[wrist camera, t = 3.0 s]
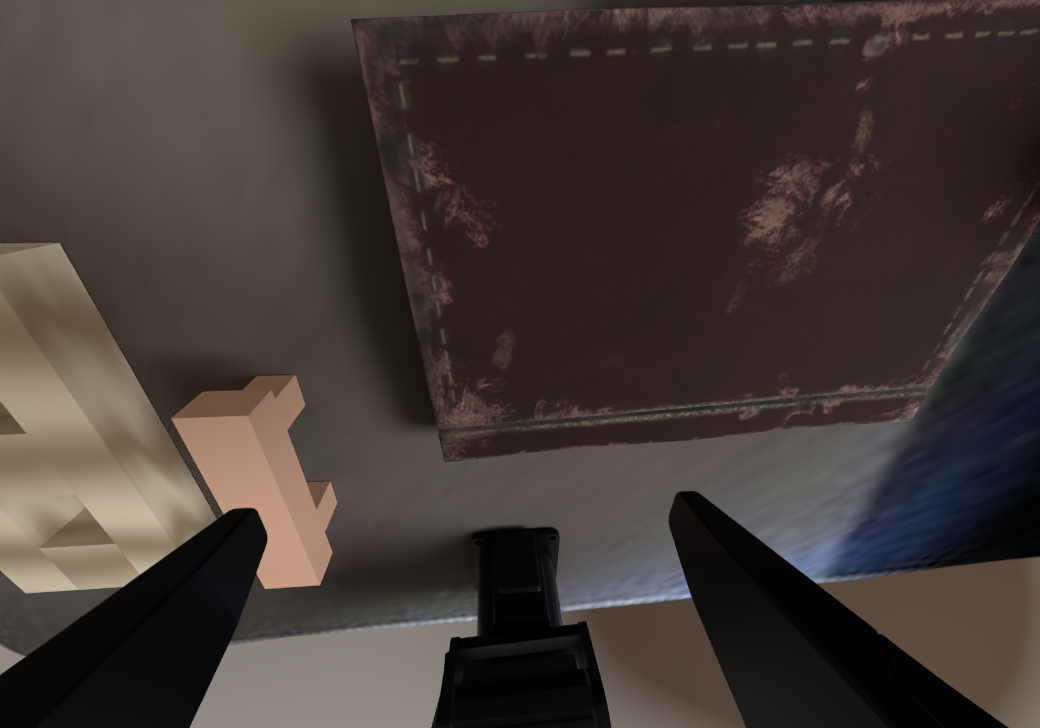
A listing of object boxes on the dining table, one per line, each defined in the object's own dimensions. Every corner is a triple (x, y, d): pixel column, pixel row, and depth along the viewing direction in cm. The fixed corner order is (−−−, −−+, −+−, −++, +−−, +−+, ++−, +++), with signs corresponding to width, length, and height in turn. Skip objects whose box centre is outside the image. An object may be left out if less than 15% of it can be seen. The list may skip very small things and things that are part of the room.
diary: (836, 384, 25) (910, 436, 20) (453, 417, 24) (445, 479, 19) (1010, -1, 15) (1218, -58, 11) (384, 27, 14) (339, -24, 10)
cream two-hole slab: (228, 539, 26) (199, 581, 24) (72, 548, 25) (25, 593, 23) (59, 242, 16) (-22, 260, 14) (-201, 244, 16) (-338, 262, 13)
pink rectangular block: (348, 512, 26) (320, 585, 21) (302, 514, 26) (264, 588, 21) (299, 358, 20) (247, 415, 16) (240, 359, 20) (170, 418, 15)
